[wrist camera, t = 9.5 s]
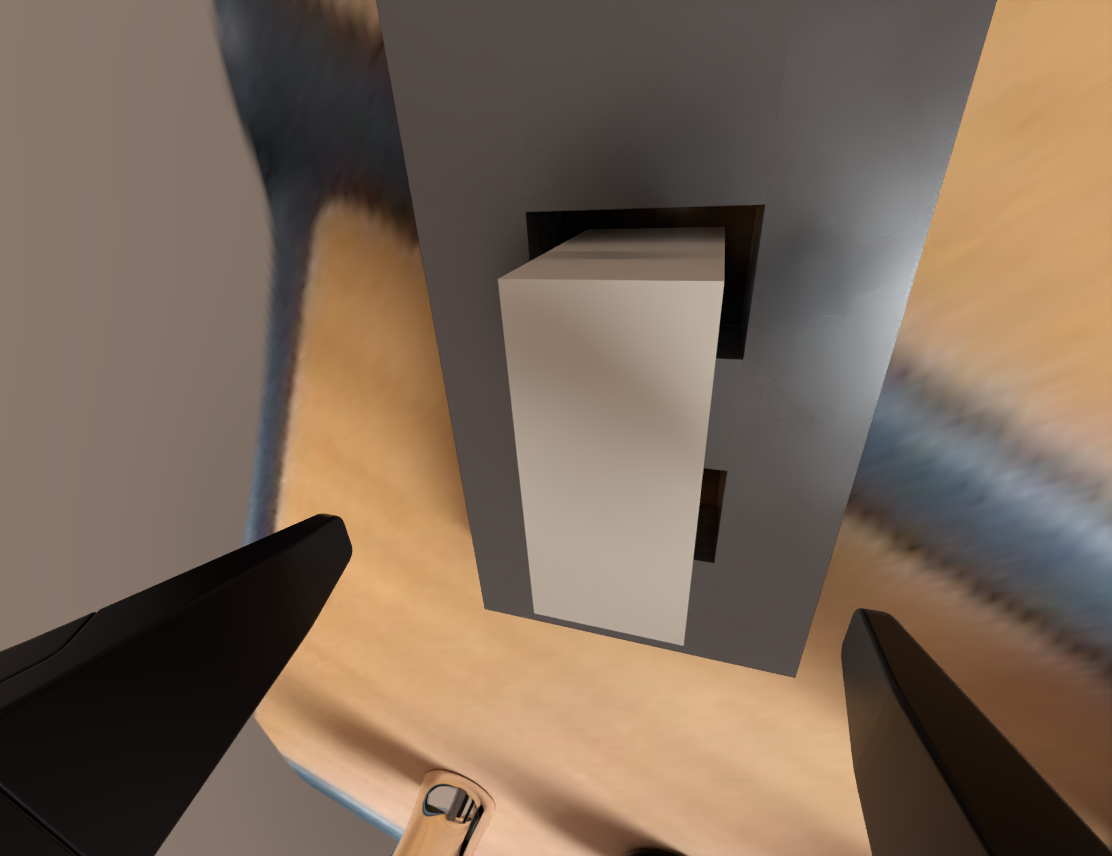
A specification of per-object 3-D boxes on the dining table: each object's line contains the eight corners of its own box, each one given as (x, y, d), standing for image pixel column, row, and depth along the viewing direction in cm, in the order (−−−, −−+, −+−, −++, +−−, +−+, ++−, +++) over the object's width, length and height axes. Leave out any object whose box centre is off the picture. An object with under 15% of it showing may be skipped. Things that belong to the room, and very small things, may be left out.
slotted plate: (786, 610, 19) (795, 677, 17) (510, 559, 23) (484, 608, 20) (959, -66, 10) (1038, -140, 7) (439, 17, 13) (373, -14, 11)
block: (697, 486, 18) (683, 645, 12) (592, 473, 19) (534, 613, 13) (725, 226, 14) (724, 281, 8) (587, 229, 15) (497, 278, 9)
